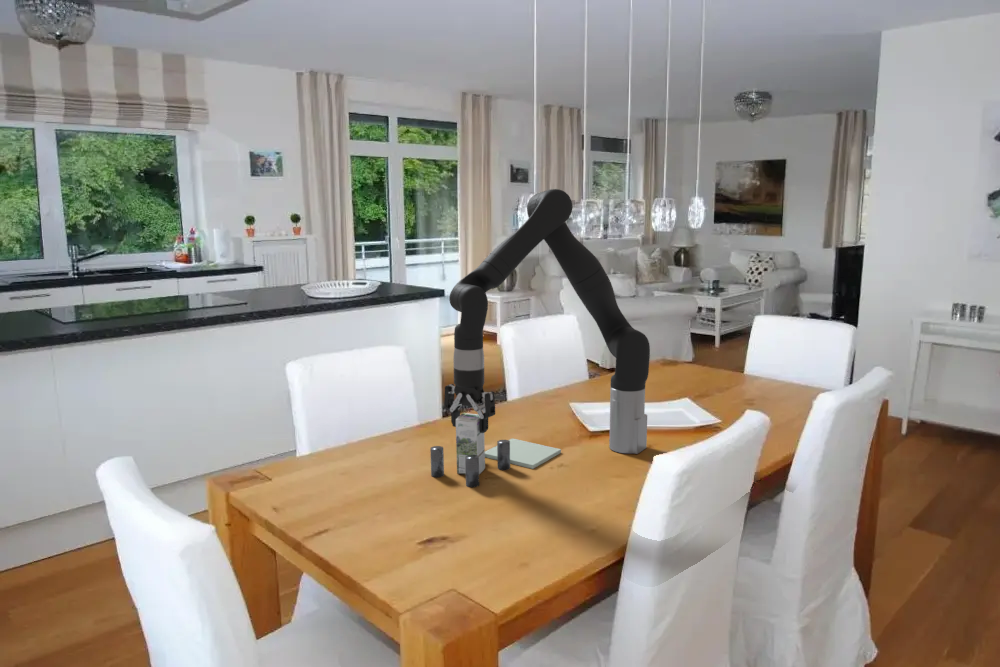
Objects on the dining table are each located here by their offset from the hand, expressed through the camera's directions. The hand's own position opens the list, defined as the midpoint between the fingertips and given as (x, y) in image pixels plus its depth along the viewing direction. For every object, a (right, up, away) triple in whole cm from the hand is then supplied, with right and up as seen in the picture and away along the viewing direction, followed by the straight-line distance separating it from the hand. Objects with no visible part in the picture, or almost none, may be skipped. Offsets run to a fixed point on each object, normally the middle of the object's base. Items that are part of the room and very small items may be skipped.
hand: (469, 429), depth 175 cm
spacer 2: (+1, -13, -6) cm, 14 cm away
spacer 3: (+9, -10, +4) cm, 14 cm away
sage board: (+13, -9, +13) cm, 21 cm away
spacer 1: (-8, -11, 0) cm, 14 cm away
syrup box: (0, -11, +2) cm, 11 cm away
